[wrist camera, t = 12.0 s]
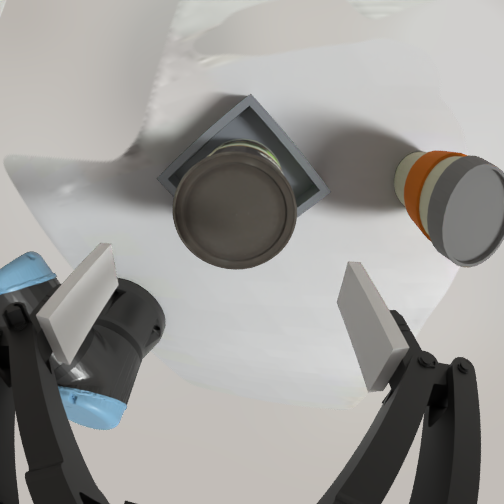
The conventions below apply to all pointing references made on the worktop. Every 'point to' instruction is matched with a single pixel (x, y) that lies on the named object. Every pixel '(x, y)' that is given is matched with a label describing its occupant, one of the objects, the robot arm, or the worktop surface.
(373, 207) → the worktop surface
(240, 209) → the coffee can
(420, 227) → the reusable coffee cup
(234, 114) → the housing tray
